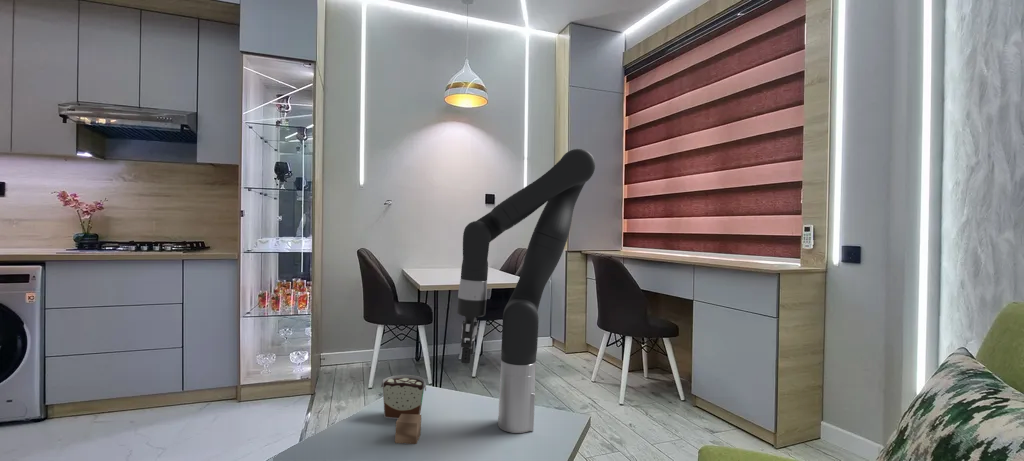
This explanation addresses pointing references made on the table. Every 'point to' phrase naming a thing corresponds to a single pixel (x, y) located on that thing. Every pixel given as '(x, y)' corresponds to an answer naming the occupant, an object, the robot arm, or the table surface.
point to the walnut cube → (408, 428)
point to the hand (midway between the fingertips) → (467, 358)
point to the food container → (402, 395)
